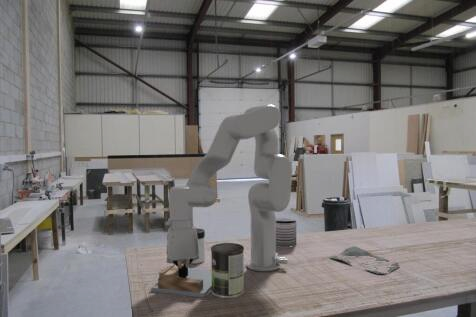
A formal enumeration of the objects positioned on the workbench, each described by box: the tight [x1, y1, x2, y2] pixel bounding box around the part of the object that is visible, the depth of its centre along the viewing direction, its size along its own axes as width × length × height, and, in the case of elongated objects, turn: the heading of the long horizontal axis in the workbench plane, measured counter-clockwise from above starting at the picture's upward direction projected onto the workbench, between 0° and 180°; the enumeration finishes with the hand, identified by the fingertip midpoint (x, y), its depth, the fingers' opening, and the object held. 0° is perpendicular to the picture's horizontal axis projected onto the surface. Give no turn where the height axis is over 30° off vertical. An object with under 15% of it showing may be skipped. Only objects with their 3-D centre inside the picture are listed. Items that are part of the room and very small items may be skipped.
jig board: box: [150, 266, 212, 298], centre depth 122 cm, size 18×20×4 cm
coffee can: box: [210, 242, 245, 299], centre depth 114 cm, size 10×10×14 cm
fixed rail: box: [157, 276, 203, 293], centre depth 114 cm, size 14×3×3 cm, turn 74°
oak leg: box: [164, 263, 184, 277], centre depth 123 cm, size 12×3×3 cm, turn 166°
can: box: [276, 217, 297, 248], centre depth 167 cm, size 11×11×12 cm
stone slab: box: [328, 245, 400, 275], centre depth 141 cm, size 24×16×2 cm, turn 33°
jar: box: [191, 227, 206, 265], centre depth 145 cm, size 9×8×12 cm
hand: (183, 278), depth 121 cm, fingers closed
